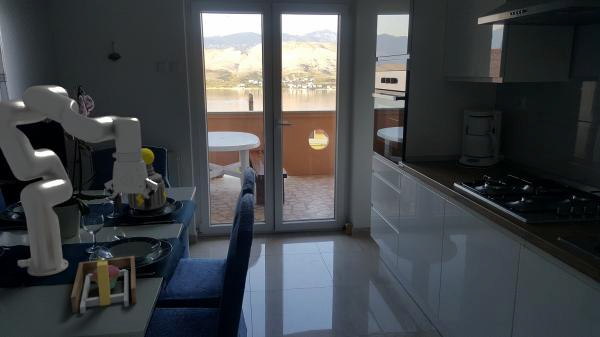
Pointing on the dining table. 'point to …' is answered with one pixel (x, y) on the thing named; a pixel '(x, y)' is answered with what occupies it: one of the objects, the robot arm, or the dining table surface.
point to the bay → (90, 267)
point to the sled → (104, 289)
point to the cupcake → (113, 274)
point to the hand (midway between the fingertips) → (133, 208)
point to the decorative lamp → (160, 194)
